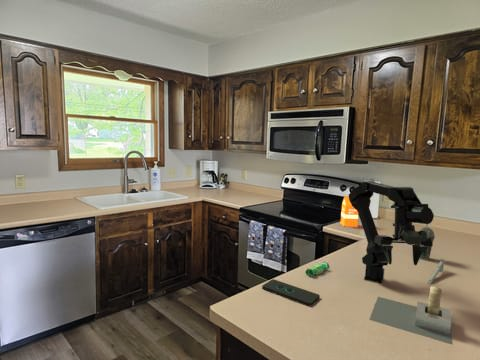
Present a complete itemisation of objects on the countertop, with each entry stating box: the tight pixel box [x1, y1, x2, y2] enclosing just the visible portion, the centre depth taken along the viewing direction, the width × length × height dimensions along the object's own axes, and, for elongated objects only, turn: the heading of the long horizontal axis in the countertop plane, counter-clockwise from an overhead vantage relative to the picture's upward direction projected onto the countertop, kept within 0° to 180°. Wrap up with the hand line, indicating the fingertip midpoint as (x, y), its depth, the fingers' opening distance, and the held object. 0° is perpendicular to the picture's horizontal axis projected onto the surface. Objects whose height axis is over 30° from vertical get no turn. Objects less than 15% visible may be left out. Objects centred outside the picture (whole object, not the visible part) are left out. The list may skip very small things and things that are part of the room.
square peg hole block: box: [415, 300, 452, 336], centre depth 99 cm, size 9×9×4 cm
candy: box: [305, 262, 330, 278], centre depth 136 cm, size 12×3×4 cm
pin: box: [427, 286, 442, 316], centre depth 98 cm, size 3×3×12 cm
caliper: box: [427, 257, 445, 285], centre depth 135 cm, size 20×1×6 cm, turn 135°
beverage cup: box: [418, 224, 436, 261], centre depth 155 cm, size 7×7×20 cm
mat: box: [369, 296, 453, 345], centre depth 102 cm, size 22×18×1 cm
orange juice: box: [340, 196, 359, 228], centre depth 212 cm, size 8×9×20 cm
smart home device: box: [261, 278, 320, 307], centre depth 117 cm, size 8×2×20 cm
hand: (402, 264), depth 115 cm, fingers open, 9 cm apart
